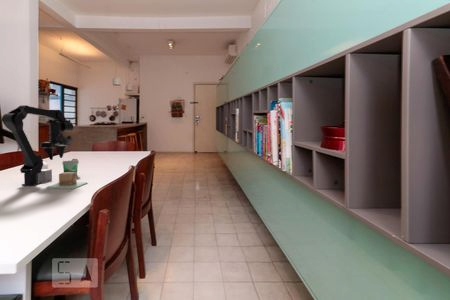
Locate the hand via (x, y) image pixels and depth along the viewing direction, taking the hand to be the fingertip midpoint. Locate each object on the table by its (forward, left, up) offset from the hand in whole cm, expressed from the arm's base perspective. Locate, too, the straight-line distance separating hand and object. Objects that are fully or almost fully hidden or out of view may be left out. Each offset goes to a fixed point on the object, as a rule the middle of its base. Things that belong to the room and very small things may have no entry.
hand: (56, 158), depth 181 cm
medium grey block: (-3, +6, -12) cm, 14 cm away
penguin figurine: (+8, +13, -12) cm, 19 cm away
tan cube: (-15, -15, -12) cm, 25 cm away
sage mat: (-15, -15, -12) cm, 25 cm away
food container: (+12, -3, -12) cm, 17 cm away
